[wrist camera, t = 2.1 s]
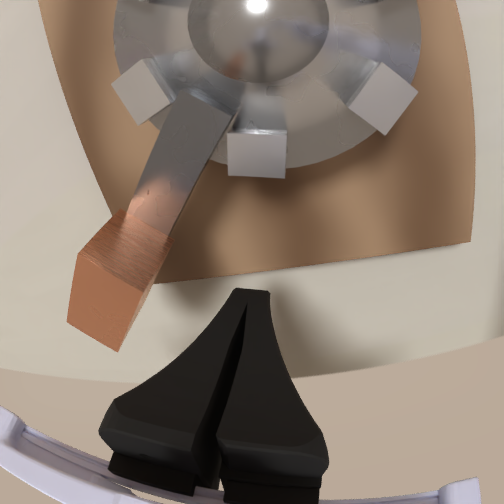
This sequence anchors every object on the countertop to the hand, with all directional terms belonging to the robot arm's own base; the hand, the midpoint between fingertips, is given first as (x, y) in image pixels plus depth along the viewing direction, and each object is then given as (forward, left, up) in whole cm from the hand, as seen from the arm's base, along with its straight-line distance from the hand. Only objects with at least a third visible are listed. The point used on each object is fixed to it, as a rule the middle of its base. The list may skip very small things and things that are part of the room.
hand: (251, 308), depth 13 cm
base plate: (-2, -10, -5) cm, 11 cm away
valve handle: (0, -7, -4) cm, 8 cm away
